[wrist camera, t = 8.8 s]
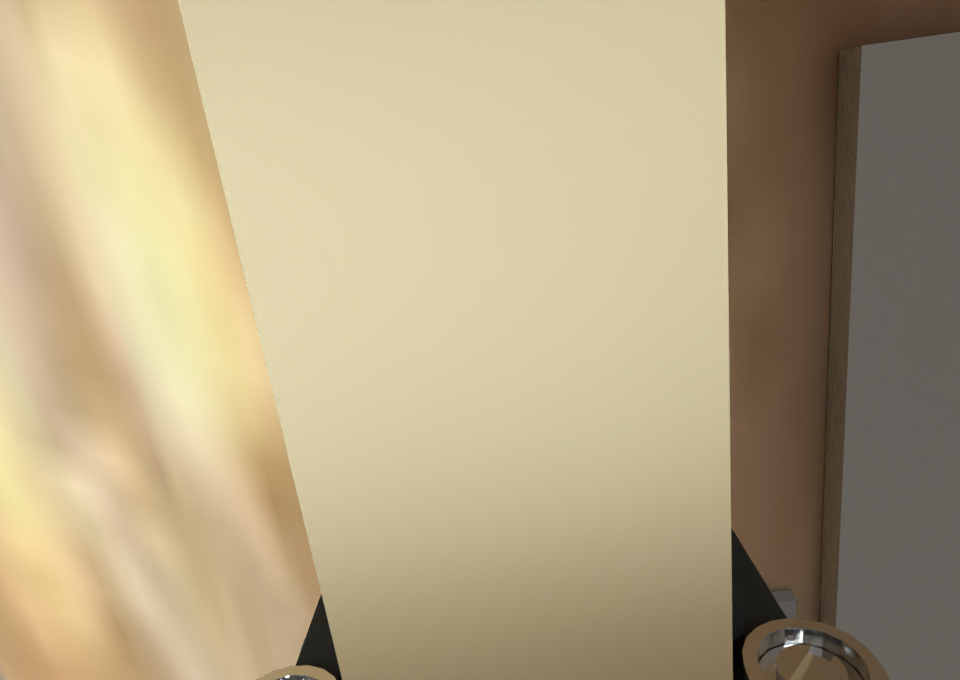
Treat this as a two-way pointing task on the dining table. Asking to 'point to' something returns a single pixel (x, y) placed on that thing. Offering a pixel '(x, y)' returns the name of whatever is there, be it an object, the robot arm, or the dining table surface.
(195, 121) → the dining table surface
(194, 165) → the dining table surface
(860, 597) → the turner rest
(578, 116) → the tan bar with plate
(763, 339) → the dining table surface
